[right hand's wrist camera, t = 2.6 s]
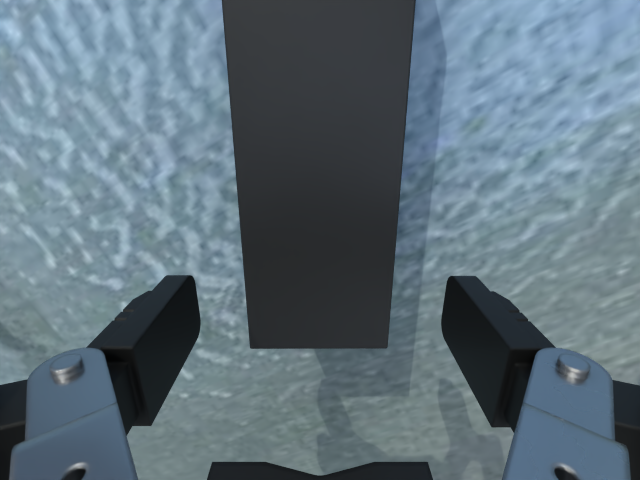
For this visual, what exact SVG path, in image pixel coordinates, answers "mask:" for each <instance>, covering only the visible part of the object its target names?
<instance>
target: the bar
mask: <svg viewBox="0 0 640 480" xmlns="http://www.w3.org/2000/svg"><path fill="white" fill-rule="evenodd" d="M415 2H416V0H222V8H223V21H224V33H225V45H226V57H227V70H228V82H229V94H230V106H231V119H232V131H233V143H234V156H235V168H236V180H237V192H238V205H239V217H240V229H241V242H242V254H243V266H244V278H245V291H246V303H247V315H248V327H249V340H250V348H251V349H286V348H387V346H388V334H389V322H390V309H391V297H392V285H393V272H394V260H395V248H396V236H397V223H398V211H399V199H400V186H401V174H402V162H403V150H404V137H405V125H406V113H407V101H408V88H409V76H410V64H411V51H412V39H413V27H414V15H415Z"/></svg>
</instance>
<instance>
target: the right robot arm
mask: <svg viewBox="0 0 640 480" xmlns="http://www.w3.org/2000/svg"><path fill="white" fill-rule="evenodd" d="M441 327H442V333H443V337H444V339H445V341H446V343H447V345H448V347H449V349H450V351H451V352H452V354H453V356H454V358H455V360H456V362H457V364H458V365H459V367H460V369H461V371H462V373H463V375H464V377H465V378H466V380H467V382H468V384H469V386H470V388H471V390H472V392H473V393H474V395H475V397H476V399H477V401H478V403H479V405H480V406H481V408H482V410H483V412H484V414H485V416H486V418H487V419H488V421H489V423H490V425H491V427H511V429H512V430H513V432H514V436H513V440H512V444H511V447H510V451H509V455H508V458H507V462H506V466H505V470H504V473H503V477H502V480H640V386H639V385H634V384H629V383H624V382H619V381H615V380H612V378H611V376H610V374H609V373H608V372H607V371H606V370H605V369H604V368H603V367H602V366H601V365H599V364H598V363H597V362H595V361H593V360H592V359H590V358H588V357H586V356H584V355H582V354H579V353H576V352H574V351H570V350H566V349H562V348H556V347H555V346H554V345H553V344H552V343H551V342H550V341H549V340H548V339H547V338H546V337H545V336H544V335H543V334H542V333H541V332H540V331H539V330H538V329H537V328H536V327H535V326H534V325H533V324H532V323H531V322H528V319H527V318H526V317H525V316H524V315H523V314H522V313H520V312H519V310H518V309H517V308H516V307H515V306H514V305H513V304H512V303H511V302H510V300H508V299H506V298H504V297H503V296H501V295H499V294H497V293H496V292H494V291H489V289H488V288H487V287H486V286H485V285H484V284H483V283H482V282H481V281H480V280H479V279H478V278H477V277H476V276H450V277H449V278H448V280H447V285H446V292H445V298H444V305H443V312H442V319H441ZM199 332H200V312H199V306H198V299H197V292H196V285H195V280H194V278H193V276H191V275H167V276H165V277H164V278H163V279H162V280H161V282H160V283H159V284H158V285H157V286H156V287H155V288H154V289H153V290H152V291H147V292H145V293H144V294H142V295H140V296H139V297H137V298H135V299H133V300H132V301H131V302H130V303H129V304H128V305H127V306H126V307H125V308H124V309H123V312H121V313H120V314H119V315H118V316H117V317H116V318H115V321H112V322H111V323H110V324H109V325H108V326H107V327H106V328H105V329H104V330H103V331H102V332H101V333H100V334H99V335H98V336H97V337H96V338H95V339H94V340H93V341H92V342H91V343H90V344H89V345H88V346H87V347H86V348H78V349H74V350H70V351H66V352H64V353H61V354H58V355H56V356H54V357H52V358H50V359H48V360H47V361H45V362H43V363H42V364H41V365H39V366H38V367H37V368H36V369H35V370H34V371H33V372H32V373H31V374H30V376H29V378H28V380H23V381H18V382H13V383H8V384H3V385H0V480H138V477H137V473H136V470H135V466H134V462H133V458H132V455H131V451H130V447H129V444H128V440H127V434H128V433H129V431H130V429H131V427H132V426H151V425H152V423H153V421H154V420H155V418H156V416H157V414H158V412H159V410H160V408H161V406H162V404H163V403H164V401H165V399H166V397H167V395H168V393H169V391H170V389H171V387H172V386H173V384H174V382H175V380H176V378H177V376H178V374H179V372H180V370H181V369H182V367H183V365H184V363H185V361H186V359H187V357H188V355H189V354H190V352H191V350H192V348H193V346H194V344H195V342H196V340H197V338H198V336H199ZM207 480H433V478H432V475H431V471H430V468H429V465H428V462H373V463H369V464H365V465H362V466H358V467H354V468H350V469H347V470H343V471H339V472H335V473H332V474H328V475H323V476H317V475H312V474H308V473H305V472H301V471H297V470H293V469H290V468H286V467H282V466H278V465H275V464H271V463H267V462H212V465H211V468H210V471H209V475H208V478H207Z"/></svg>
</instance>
